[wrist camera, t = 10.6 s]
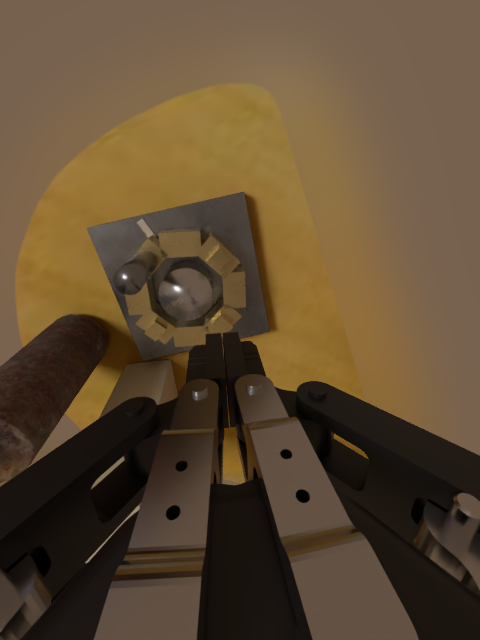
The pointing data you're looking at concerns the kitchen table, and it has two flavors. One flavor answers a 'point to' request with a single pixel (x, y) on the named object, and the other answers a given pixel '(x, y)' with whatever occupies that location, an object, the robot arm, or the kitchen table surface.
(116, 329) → the kitchen table surface
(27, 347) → the candle
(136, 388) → the light grey tall block
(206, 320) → the tan block ring
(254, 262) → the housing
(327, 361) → the kitchen table surface
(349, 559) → the robot arm
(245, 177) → the kitchen table surface
